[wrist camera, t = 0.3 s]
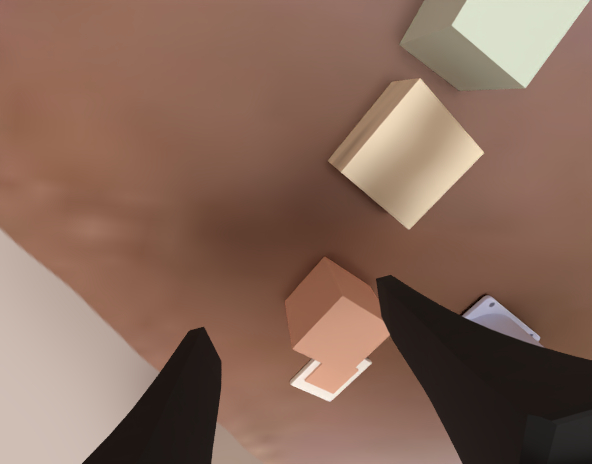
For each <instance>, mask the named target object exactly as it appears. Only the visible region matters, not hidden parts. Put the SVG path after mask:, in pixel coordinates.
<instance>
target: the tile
mask: <svg viewBox="0 0 592 464" xmlns="http://www.w3.org/2000/svg"><path fill="white" fill-rule="evenodd" d="M370 364H372V363H371V360H370V359H368V358H365V359H364V360H363V361H362V362H361V363H360V364H359V365H358V366H357V367H355V368H354V369H353V370H352V371H351V372H350V373H349V374H348V375H345V374H343V373H341V372H339V371H337V370H335V369H333V368H331V367H328V366H326V365H324V364H322V363H320V362H318V361H316V360H314V359H311V360H310V361H309V362H308V363H307V364H306V365H305V366H304V367H303V368H302V369H301V370H300V371H299V372H298V373H297V374H296V375H295V376H294V377H293V378H292V379H291V380H290V385H292V386H294V387H297V388H299V389H301V390H304V391H306V392H308V393H311V394H313V395H315V396H318V397H320V398H322V399H325V400H327V401H330V402H331V401H332V400H333V399H334V398H335V397H336V396H337V395H338V394H339V393H340V392H341V391H342V390H343V389H345V388H346V387H347V386H348V385H349V384H350V383H351V382H352V381H353V380H354V379H355V378H356V377H358V376H359V375H360V374H361V373H362V372H363V371H364V370H365V369H366V368H367V367H368V366H369V365H370Z"/></svg>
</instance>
